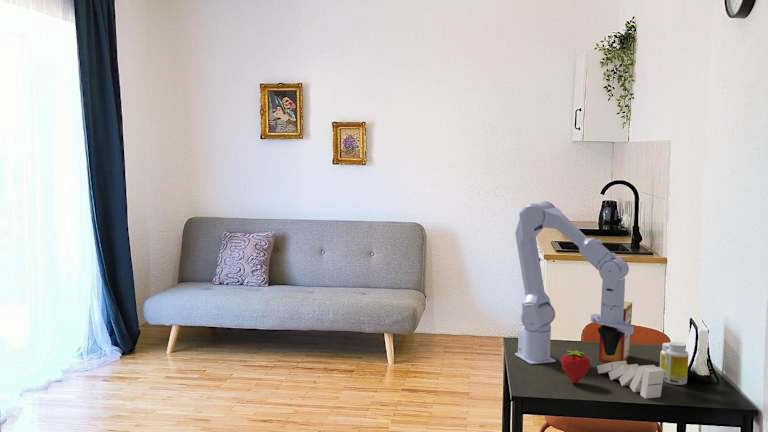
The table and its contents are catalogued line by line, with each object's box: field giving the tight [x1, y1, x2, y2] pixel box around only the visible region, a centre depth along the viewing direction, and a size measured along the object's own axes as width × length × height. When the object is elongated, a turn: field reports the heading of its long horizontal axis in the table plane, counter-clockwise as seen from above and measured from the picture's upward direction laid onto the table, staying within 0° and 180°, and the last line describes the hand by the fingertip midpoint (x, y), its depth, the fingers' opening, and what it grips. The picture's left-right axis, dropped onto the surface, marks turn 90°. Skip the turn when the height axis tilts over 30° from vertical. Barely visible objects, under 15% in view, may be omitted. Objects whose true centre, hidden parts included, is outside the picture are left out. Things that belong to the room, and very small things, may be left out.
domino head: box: [596, 360, 628, 375], centre depth 203 cm, size 2×4×7 cm
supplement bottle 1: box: [659, 342, 670, 370], centre depth 204 cm, size 5×5×8 cm
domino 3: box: [629, 364, 657, 393], centre depth 190 cm, size 2×4×7 cm, turn 108°
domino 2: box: [618, 364, 647, 387], centre depth 194 cm, size 2×4×7 cm
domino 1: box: [608, 363, 639, 381], centre depth 198 cm, size 2×4×7 cm
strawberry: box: [560, 349, 591, 384], centre depth 196 cm, size 6×8×10 cm
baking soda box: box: [598, 301, 633, 363], centre depth 218 cm, size 10×6×16 cm
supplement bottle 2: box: [663, 341, 690, 386], centre depth 198 cm, size 6×6×10 cm
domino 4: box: [639, 366, 665, 399], centre depth 187 cm, size 2×4×7 cm, turn 108°
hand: (610, 354), depth 204 cm, fingers closed
